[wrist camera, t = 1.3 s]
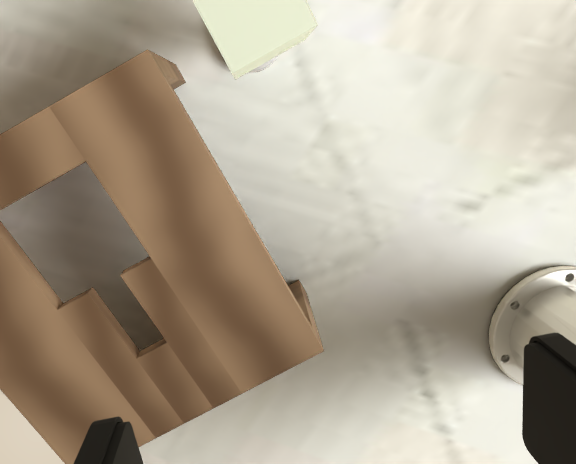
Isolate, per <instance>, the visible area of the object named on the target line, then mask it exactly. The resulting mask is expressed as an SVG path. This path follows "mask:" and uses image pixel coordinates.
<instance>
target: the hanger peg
mask: <svg viewBox="0 0 576 464" xmlns="http://www.w3.org/2000/svg"><path fill="white" fill-rule="evenodd" d="M192 1H193V3H194V4H195V6H196V8H197V10H198V12H199V14H200V16H201V17H202V19H203V21H204V23H205V25H206V27H207V29H208V30H209V32H210V34H211V36H212V38H213V40H214V42H215V43H216V45H217V47H218V49H219V51H220V53H221V55H222V56H223V58H224V60H225V62H226V64H227V66H228V68H229V69H230V71H231V73H232V75H233V77H234V78H235V79H237V78H239V77H241V76H243V75H244V74H246V73H248V72H258V71H261V70H264V69H266V68H267V67H269V66H270V65H271V64H272V63H273V62H274V61H275V60H276V58H277V57H278V55H280V54H281V53H283V52H285V51H287V50H289V49H290V48H292V47H294V46H296V45H297V44H299V43H301V42H303V41H304V40H305V39H306V38H307V37H308V36H309V35H310V33H311V32H312V31H313V30H314V29H315V28H316V26H317V25H318V24H317V22H316V20H315V18H314V15H313V13H312V11H311V9H310V7H309V5H308V3H307V0H192Z"/></svg>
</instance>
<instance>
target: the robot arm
mask: <svg viewBox="0 0 576 464" xmlns="http://www.w3.org/2000/svg"><path fill="white" fill-rule="evenodd" d="M489 345H490V351H491V353H492V356H493V358H494V360H495V362H496V363H497V365H498V366H499V368H500V369H501V370H502V371H503V372H504V373H505V374H506V375H507V376H508V377H509V378H511V379H512V380H513V381H515V382H516V383H518V384H521V385H523V430H522V435H523V441H524V443H525V446H526V448H527V450H528V451H529V453H530V454H531V455H532V456H533V457H534V459H535V460H536V461H537V462H538V464H576V267H573V266H558V267H550V268H547V269H544V270H540V271H537V272H535V273H533V274H531V275H529V276H527V277H525V278H524V279H523V280H521V281H520V282H519V283H517V284H516V285H515V286H514V287H513V288H512V289H511V290H510V291H509V292H508V293H507V294H506V295H505V296H504V297H503V299H502V300H501V302H500V303H499V304H498V306H497V308H496V310H495V312H494V315H493V317H492V320H491V324H490V328H489ZM74 464H143V461H142V458H141V454H140V451H139V448H138V444H137V441H136V438H135V434H134V431H133V428H132V425H131V423H130V422H129V421H128V422H123V420H122V418H121V417H119V416H118V417H113V418H108V419H102V420H97V421H94V422H92V424H91V425H90V427H89V430H88V432H87V434H86V436H85V439H84V441H83V443H82V446H81V448H80V450H79V452H78V455H77V457H76V459H75V461H74Z"/></svg>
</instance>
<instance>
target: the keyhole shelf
mask: <svg viewBox="0 0 576 464" xmlns="http://www.w3.org/2000/svg"><path fill="white" fill-rule="evenodd" d="M184 83H186V82H185V80H184V78H183V77H182V75H181V73H180V71H179V70H178V68H177V66H176V64H174V63H172V62H170V61H168V60H166V59H164V58H163V57H161V56H159V55H157V54H155V53H153V52H151V51H149V50H146V51H144V52H142V53H141V54H139V55H137V56H135V57H134V58H132V59H130V60H128V61H127V62H125V63H123V64H122V65H120V66H118V67H116V68H115V69H113V70H111V71H109V72H108V73H106V74H104V75H102V76H101V77H99V78H97V79H96V80H94V81H92V82H90V83H89V84H87V85H85V86H83V87H82V88H80V89H78V90H77V91H75V92H73V93H71V94H70V95H68V96H66V97H64V98H63V99H61V100H59V101H57V102H56V103H54V104H52V105H51V106H49V107H47V108H45V109H44V110H42V111H40V112H38V113H37V114H35V115H33V116H31V117H30V118H28V119H26V120H25V121H23V122H21V123H19V124H18V125H16V126H14V127H12V128H11V129H9V130H7V131H5V132H4V133H2V134H0V210H2V209H3V208H5V207H7V206H9V205H10V204H12V203H14V202H16V201H18V200H19V199H21V198H23V197H25V196H26V195H28V194H30V193H32V192H33V191H35V190H37V189H39V188H41V187H42V186H44V185H46V184H48V183H49V182H51V181H53V180H55V179H56V178H58V177H60V176H62V175H64V174H65V173H67V172H69V171H71V170H72V169H74V168H76V167H78V166H79V165H81V164H83V163H85V162H87V164H88V165H89V167H90V168H91V170H92V171H93V173H94V174H95V176H96V177H97V179H98V180H99V182H100V183H101V185H102V186H103V188H104V189H105V191H106V192H107V193H108V195H109V196H110V198H111V199H112V201H113V202H114V204H115V205H116V207H117V208H118V210H119V211H120V213H121V214H122V216H123V217H124V219H125V220H126V222H127V223H128V225H129V226H130V228H131V229H132V231H133V232H134V234H135V235H136V237H137V238H138V240H139V241H140V243H141V244H142V246H143V247H144V248H145V250H146V251H147V253H148V254H149V257H147V258H146V259H144V260H142V261H140V262H138V263H136V264H135V265H133V266H131V267H129V268H127V269H125V270H124V271H123V272H122V274H121V275H120V276H121V278H122V279H123V281H124V282H125V283H126V285H127V286H128V288H129V289H130V290H131V292H132V293H133V295H134V296H135V298H136V299H137V300H138V302H139V303H140V305H141V306H142V308H143V309H144V310H145V312H146V313H147V315H148V316H149V317H150V319H151V320H152V322H153V323H154V325H155V326H156V327H157V329H158V330H159V332H160V333H161V334H162V336H163V337H164V339H162V340H160V341H158V342H156V343H154V344H152V345H150V346H149V347H147V348H145V349H143V350H141V351H139V349H138V348H137V347H136V345H135V344H134V343H133V341H132V340H131V339H130V337H129V336H128V334H127V333H126V332H125V330H124V329H123V328H122V326H121V325H120V324H119V322H118V321H117V319H116V318H115V317H114V315H113V314H112V313H111V311H110V310H109V308H108V307H107V306H106V304H105V303H104V302H103V300H102V299H101V298H100V296H99V295H98V293H97V292H96V291H95V289H94V288H93V287H92V288H91V289H89V290H87V291H85V292H83V293H81V294H80V295H78V296H76V297H74V298H72V299H70V300H69V301H67V302H65V303H63V302H62V301H61V300H60V298H59V297H58V296H57V295H56V293H55V292H54V291H53V289H52V288H51V287H50V285H49V284H48V283H47V281H46V280H45V279H44V278H43V276H42V275H41V274H40V272H39V271H38V270H37V268H36V267H35V266H34V264H33V263H32V262H31V260H30V259H29V258H28V257H27V255H26V254H25V253H24V251H23V250H22V249H21V247H20V246H19V245H18V243H17V242H16V241H15V240H14V238H13V237H12V236H11V234H10V233H9V232H8V230H7V229H6V228H5V226H4V225H3V224H2V222H1V221H0V389H1V390H2V392H3V393H4V394H5V395H6V396H7V397H8V398H9V400H10V401H11V402H12V403H13V404H14V405H15V407H16V408H17V409H18V410H19V411H20V412H21V413H22V415H23V416H24V417H25V418H26V419H27V420H28V422H29V423H30V424H31V425H32V426H33V427H34V428H35V430H36V431H37V432H38V433H39V434H40V435H41V436H42V438H43V439H44V440H45V441H46V442H47V443H48V444H49V446H50V447H51V448H52V449H53V450H54V451H55V453H56V454H57V455H58V456H59V457H60V458H61V460H62V461H63V462H64V463H65V464H74V461H75V459H76V457H77V455H78V452H79V450H80V448H81V446H82V443H83V441H84V439H85V436H86V434H87V432H88V430H89V427H90V425H91V424H92V422H94V421H97V420H102V419H108V418H113V417H118V416H119V417H121V418H122V420H123V422H128V421H129V422H130V423H131V425H132V428H133V431H134V434H135V438H136V441H137V444H138V447H140V446H142V445H144V444H146V443H148V442H149V441H151V440H153V439H155V438H157V437H159V436H161V435H163V434H165V433H167V432H169V431H171V430H173V429H175V428H176V427H178V426H180V425H182V424H184V423H186V422H188V421H190V420H192V419H194V418H196V417H198V416H200V415H202V414H203V413H205V412H207V411H209V410H211V409H213V408H215V407H217V406H219V405H221V404H223V403H225V402H227V401H229V400H230V399H232V398H234V397H236V396H238V395H240V394H242V393H244V392H246V391H248V390H250V389H252V388H254V387H256V386H258V385H259V384H261V383H263V382H265V381H267V380H269V379H271V378H273V377H275V376H277V375H279V374H281V373H283V372H285V371H286V370H288V369H290V368H292V367H294V366H296V365H298V364H300V363H302V362H304V361H306V360H308V359H310V358H312V357H313V356H315V355H317V354H319V353H321V352H323V351H324V349H323V346H322V343H321V340H320V336H319V333H318V330H317V326H316V323H315V320H314V316H313V313H312V310H311V306H310V303H309V300H308V296H307V293H306V291H305V290H304V288H303V286H302V284H301V283H300V281H299V280H298V281H296V282H294V283H292V284H290V285H287V283H286V282H285V280H284V278H283V276H282V275H281V273H280V271H279V270H278V268H277V266H276V264H275V263H274V261H273V259H272V258H271V256H270V254H269V252H268V251H267V249H266V247H265V246H264V244H263V242H262V240H261V239H260V237H259V235H258V234H257V232H256V230H255V228H254V227H253V225H252V223H251V222H250V220H249V218H248V216H247V215H246V213H245V211H244V210H243V208H242V206H241V204H240V203H239V201H238V199H237V198H236V196H235V194H234V192H233V191H232V189H231V187H230V186H229V184H228V182H227V180H226V179H225V177H224V175H223V174H222V172H221V170H220V168H219V167H218V165H217V163H216V162H215V160H214V158H213V156H212V155H211V153H210V151H209V150H208V148H207V146H206V144H205V143H204V141H203V139H202V138H201V136H200V134H199V132H198V131H197V129H196V127H195V126H194V124H193V122H192V120H191V119H190V117H189V115H188V114H187V112H186V110H185V108H184V107H183V105H182V103H181V102H180V100H179V98H178V96H177V95H176V93H175V91H174V89H175V88H177V87H179V86H181V85H182V84H184Z"/></svg>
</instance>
